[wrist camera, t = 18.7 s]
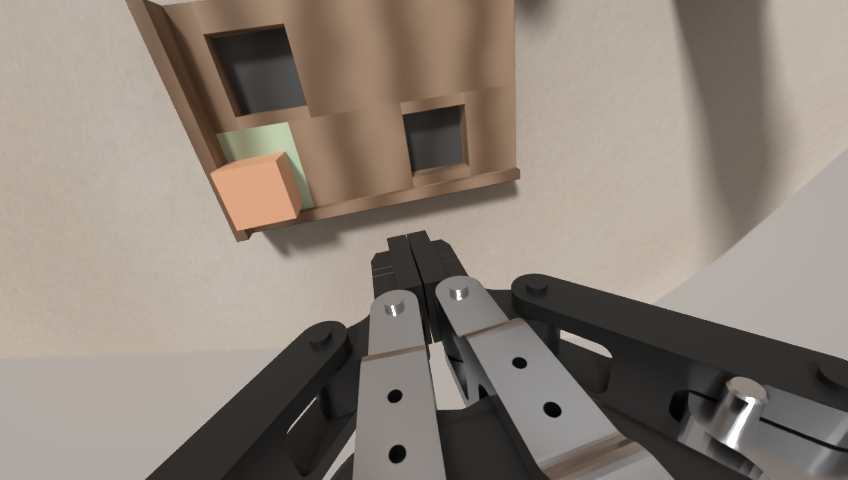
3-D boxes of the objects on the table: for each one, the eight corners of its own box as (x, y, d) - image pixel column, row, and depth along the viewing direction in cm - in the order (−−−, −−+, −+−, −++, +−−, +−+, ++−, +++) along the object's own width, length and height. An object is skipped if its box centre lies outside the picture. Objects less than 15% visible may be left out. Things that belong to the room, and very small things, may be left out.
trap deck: (501, -30, 28) (528, -50, 24) (506, 170, 37) (526, 182, 32) (164, 14, 25) (125, -1, 21) (252, 221, 34) (237, 242, 29)
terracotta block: (285, 151, 29) (275, 160, 26) (303, 202, 31) (296, 218, 28) (227, 162, 29) (209, 173, 25) (250, 213, 31) (237, 230, 27)
